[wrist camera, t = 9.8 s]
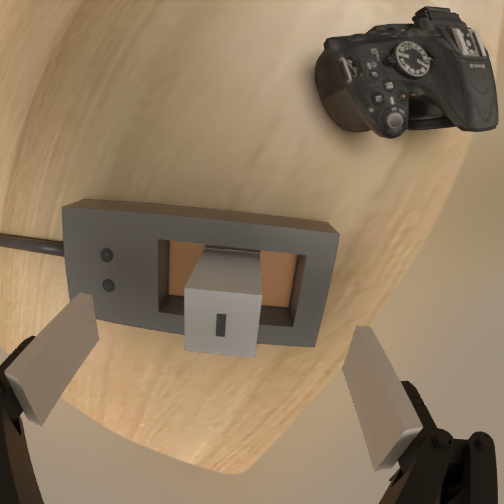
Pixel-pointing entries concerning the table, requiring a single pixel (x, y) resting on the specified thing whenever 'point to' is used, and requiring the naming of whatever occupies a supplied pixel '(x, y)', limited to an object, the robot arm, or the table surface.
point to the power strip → (190, 263)
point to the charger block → (223, 302)
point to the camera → (409, 77)
